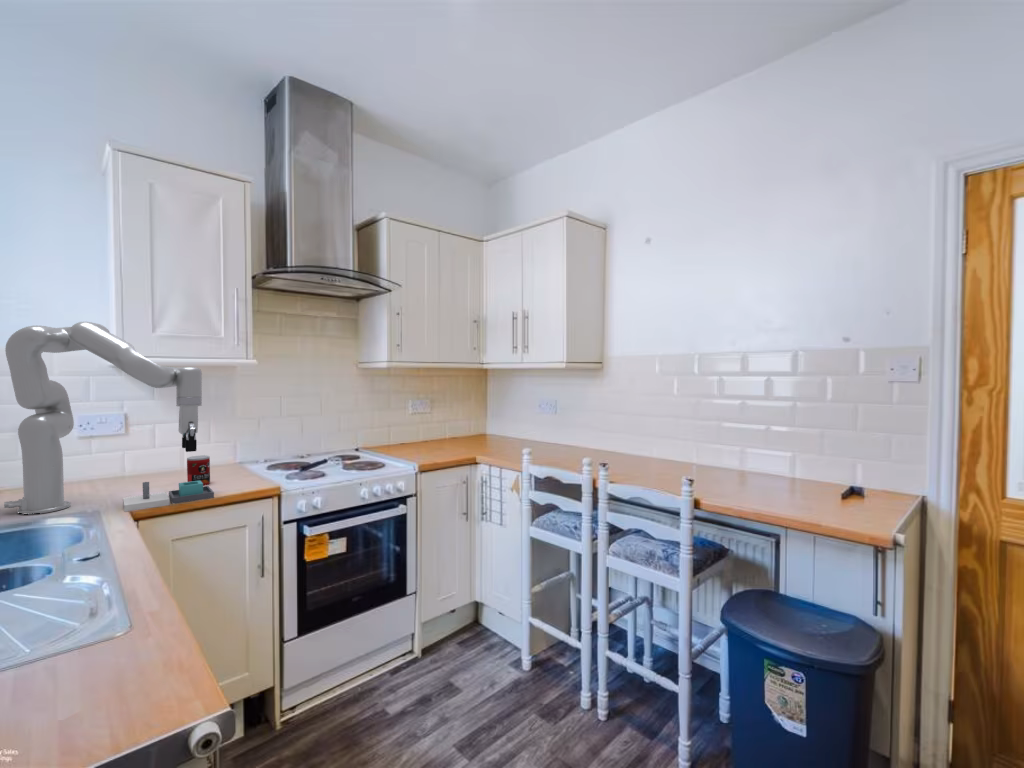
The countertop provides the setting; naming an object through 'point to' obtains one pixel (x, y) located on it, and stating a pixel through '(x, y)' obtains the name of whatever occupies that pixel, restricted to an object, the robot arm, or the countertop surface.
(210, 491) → the tray
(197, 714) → the countertop surface
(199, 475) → the canned food
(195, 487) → the teal notched block
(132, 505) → the stake block
